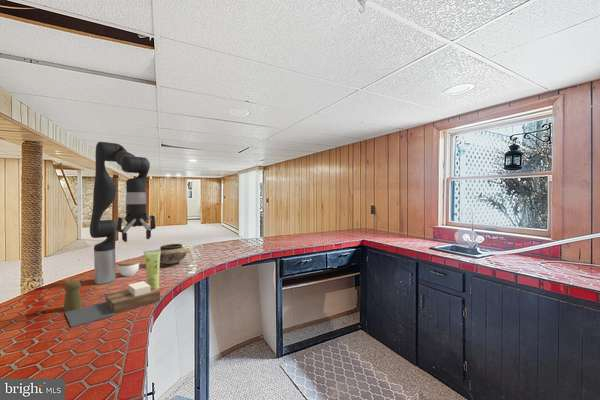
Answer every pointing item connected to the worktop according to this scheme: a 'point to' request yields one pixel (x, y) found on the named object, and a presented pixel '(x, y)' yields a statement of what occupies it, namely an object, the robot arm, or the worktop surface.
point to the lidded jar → (128, 267)
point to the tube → (152, 267)
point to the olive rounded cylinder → (72, 296)
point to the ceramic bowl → (172, 254)
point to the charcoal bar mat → (88, 314)
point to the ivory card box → (139, 288)
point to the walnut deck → (130, 300)
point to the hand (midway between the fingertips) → (136, 240)
